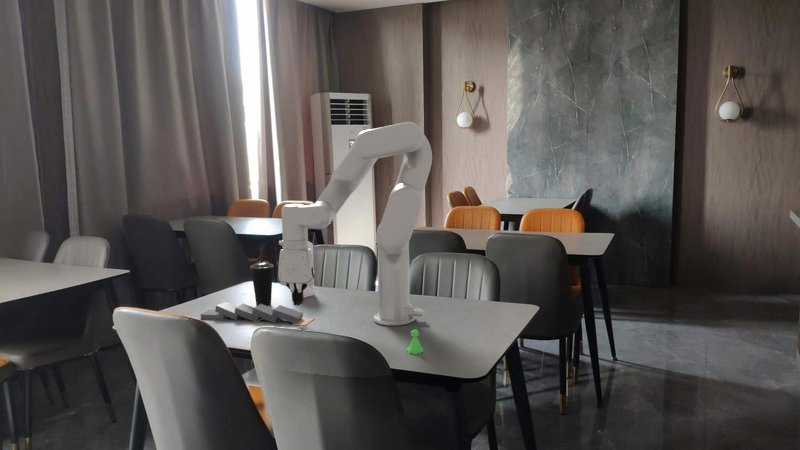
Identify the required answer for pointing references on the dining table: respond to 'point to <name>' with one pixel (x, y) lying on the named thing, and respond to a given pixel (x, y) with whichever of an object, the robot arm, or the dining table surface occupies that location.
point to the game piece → (415, 343)
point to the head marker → (303, 321)
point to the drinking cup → (262, 281)
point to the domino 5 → (287, 314)
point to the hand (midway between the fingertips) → (298, 304)
